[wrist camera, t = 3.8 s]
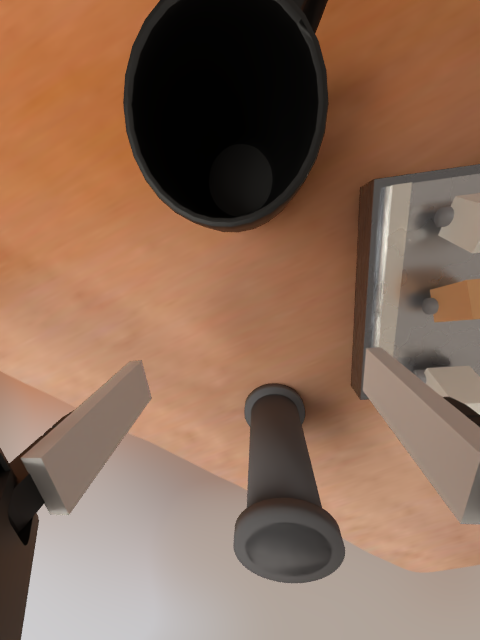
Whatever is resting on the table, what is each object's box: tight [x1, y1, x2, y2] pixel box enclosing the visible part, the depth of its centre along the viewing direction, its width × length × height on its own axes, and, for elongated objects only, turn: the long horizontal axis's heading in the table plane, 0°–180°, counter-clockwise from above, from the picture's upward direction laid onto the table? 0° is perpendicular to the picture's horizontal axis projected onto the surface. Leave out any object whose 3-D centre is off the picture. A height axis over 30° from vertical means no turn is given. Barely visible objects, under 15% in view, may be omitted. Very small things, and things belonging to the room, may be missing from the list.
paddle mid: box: [422, 279, 480, 322], centre depth 15 cm, size 2×4×4 cm, turn 98°
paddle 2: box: [412, 366, 480, 415], centre depth 17 cm, size 2×4×4 cm, turn 96°
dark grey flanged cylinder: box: [234, 384, 345, 583], centre depth 19 cm, size 6×6×12 cm
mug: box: [123, 0, 328, 232], centre depth 13 cm, size 8×12×10 cm
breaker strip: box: [351, 164, 480, 400], centre depth 18 cm, size 18×11×3 cm, turn 7°
